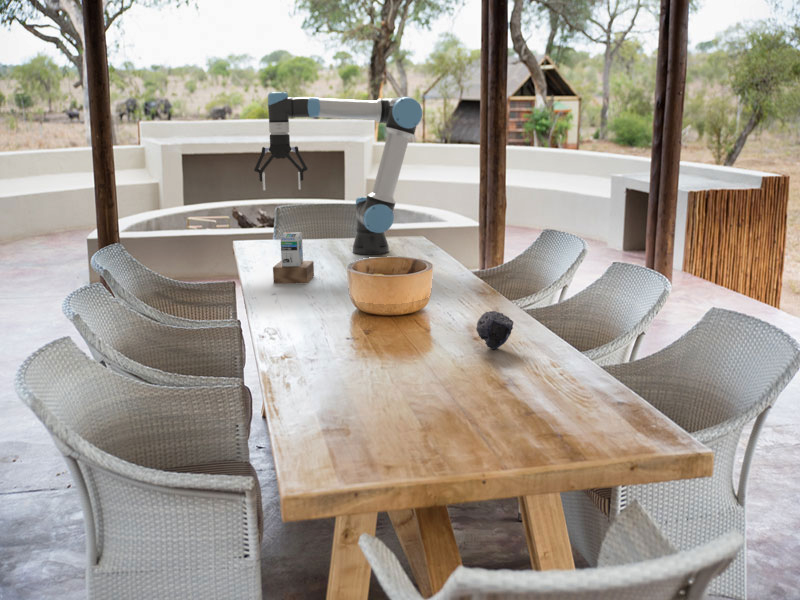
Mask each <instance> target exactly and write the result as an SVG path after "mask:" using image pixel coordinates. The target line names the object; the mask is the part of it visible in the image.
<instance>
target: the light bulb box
mask: <svg viewBox="0 0 800 600" xmlns="http://www.w3.org/2000/svg"><path fill="white" fill-rule="evenodd" d="M279 241H280V253H281V254H280V255H281V261H282V267H294V266H297V267H300V266H301V264H302V262H303V261H304V255H303V254H304V251H303V250H304V249H303V232H301V231H299V232H298V231H293V232H292V231H290V232H288V231H284V232H283V233H282V235H280V240H279Z"/></svg>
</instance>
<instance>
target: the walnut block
mask: <svg viewBox="0 0 800 600" xmlns="http://www.w3.org/2000/svg"><path fill="white" fill-rule="evenodd" d="M314 264H315V263H314V260H303V262H302V264H301V266H300V267H297V266H294V267H282V260H280V261H279V262H277V263H276V264H275V265H274V266H273V267H272V275H273V276H272V277H273V279H272V280H273V284H296V283H307V284H308V283H309V282H310V281H311V280H312V279H313V278H314V277H315V267H314V266H315V265H314ZM313 276H314V277H313Z"/></svg>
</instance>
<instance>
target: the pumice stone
mask: <svg viewBox="0 0 800 600" xmlns="http://www.w3.org/2000/svg"><path fill="white" fill-rule="evenodd" d="M513 325H514V321H513V320H512V319H511V318H510V317H509V316H507V315H505V314H504V313H503V312H499V311H495V310H492V311H491V310H490V311H486V312H484V313H483V314H481V316H480V318H479V319H478V320H477V323H476V327H475V329H476V332H477V334H478V337H479V338H480V339H481V340H482V341H484V343H485V345H486V348H489V349H491V350H496V349H499V348H500V347H501V346H503V345H504V344H505V343H506V342H507V340H508V339H509V337H510V336H511V333H512V330H513V329H514V328H513Z"/></svg>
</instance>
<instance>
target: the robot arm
mask: <svg viewBox="0 0 800 600" xmlns="http://www.w3.org/2000/svg"><path fill="white" fill-rule="evenodd" d="M267 110H268V111H267V112H268V130H269V133H270V135H269V147H266V146H262V147H261V153H260V156H259V157H258V160H257V162H256V165H255V168H254V169H253V170H254V173H255V172H256V173H257V174H258V175H259V182H262V191H266V174H265V172H264V171H265V169H267V167H268V166H269V165H270V163H271V161H272V160H273V159H274V158H275V160H276V159H288V160H289V161H290V163H292V165H293V166H294V167H295V168H296V169H297V170H298V172H297V178H298V179H297V180H298V181H297V183H298V185H297V186H298V190H301V189H302V188H301V181H302V182H303V181H304V172H305V171H308V169H309V168H308V166H307V165H306V162H305V161H304V159H303V157H302V155H301V153H300V150H299V146H298V145H296V146H291V143H290V142H291V141H290V134H289V133H290V121H289V120H290V118H292V119H293V118H327V119H343V120H345V119H346V120H348V119H349V120H363V121H365V120H367V121H369V120H370V121H375V122H377V124H378V123H379V124H385V129H386V131H387V135H386V139H385V144H384V147H383V151H382V154H381V157H380V162H379V165H378V168H377V173H376V176H375V180H374V185H373V187H372V191H371V192H370V193H368V194H367V196H363V197H362V196H361V197H359V196H358V197H357V198H356V199H355V203H354V204H355V220H356V223H355V224H356V227H355V228H356V234H355V238H354V241H353V245H352V253H353V254H357V255H358V254H360V255H381V254H385V253H388V252H389V250H390V249H389V248H390V247H389V243H388V239H387V237H386V234H385V232H387V231H388V230H390V228H392V225H393V224H394V218H395V217H394V216H395V215H394V210H395V206H396V201H395V199H394V195H395V191H396V188H397V184H398V181H399V178H400V177H399V176H400V173H401V169H402V166H403V162H404V158H405V154H406V150H407V148H408V143H409V140H410V139H411V138H412V137H414V136H415V132H416V129H417V126H418V125H419V123H420V122H421V121H422V118H423V109H422V106H421V105H420V103H419V102H418V100H416V99H414V98H413V97H411V96H397V97H395V96H394V97H389V98H378V99H377V100H365V99H364V100H362V99H346V98H345V99H344V98H343V99H342V98H326V97H325V98H323V97H318V96H316V97H315V96H296V97H293V96H291V97H290V96H289V95H288V93H287V91H286V92H285V91H277V92H275V91H273V92H269V93H268V95H267ZM268 151H269V153H270V154H271V155H270V156H269V158H268V159H267V160H266V162H265V163H264V164H263V165H262V166H261V164H262V162H263V159H264V157H265V155H266V154H267V152H268ZM291 151H292V152H293V153H295V155H296V157H297V158H298V160H299V162H300V164H301V166H302V167H301V166H300V165H299V163H298V162H297V161H296V160H295V159H294V157H292V156H291V154H290V153H291ZM260 166H261V168H259V167H260Z"/></svg>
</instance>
